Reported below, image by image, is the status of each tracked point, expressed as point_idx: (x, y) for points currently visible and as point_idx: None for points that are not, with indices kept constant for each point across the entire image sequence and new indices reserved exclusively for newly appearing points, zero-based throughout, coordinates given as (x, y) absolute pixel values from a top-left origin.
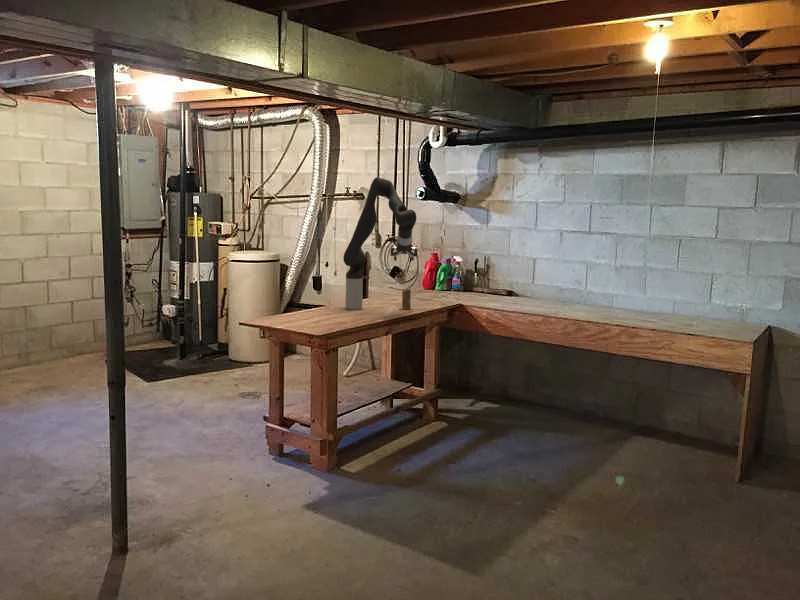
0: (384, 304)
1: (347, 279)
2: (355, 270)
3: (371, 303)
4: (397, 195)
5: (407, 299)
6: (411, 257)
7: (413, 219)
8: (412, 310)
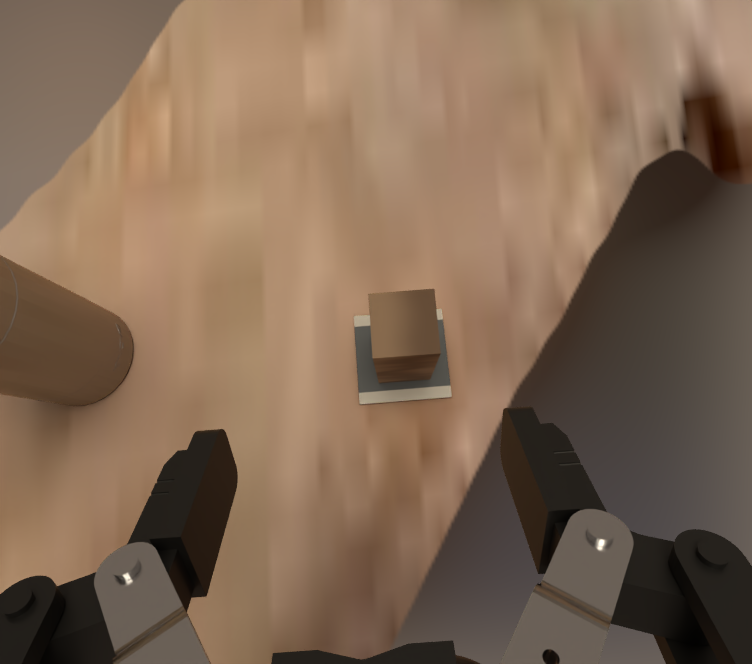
0: (264, 169)
1: None
2: None
3: (189, 146)
4: None
5: (412, 369)
6: (541, 567)
7: None
8: (444, 396)
